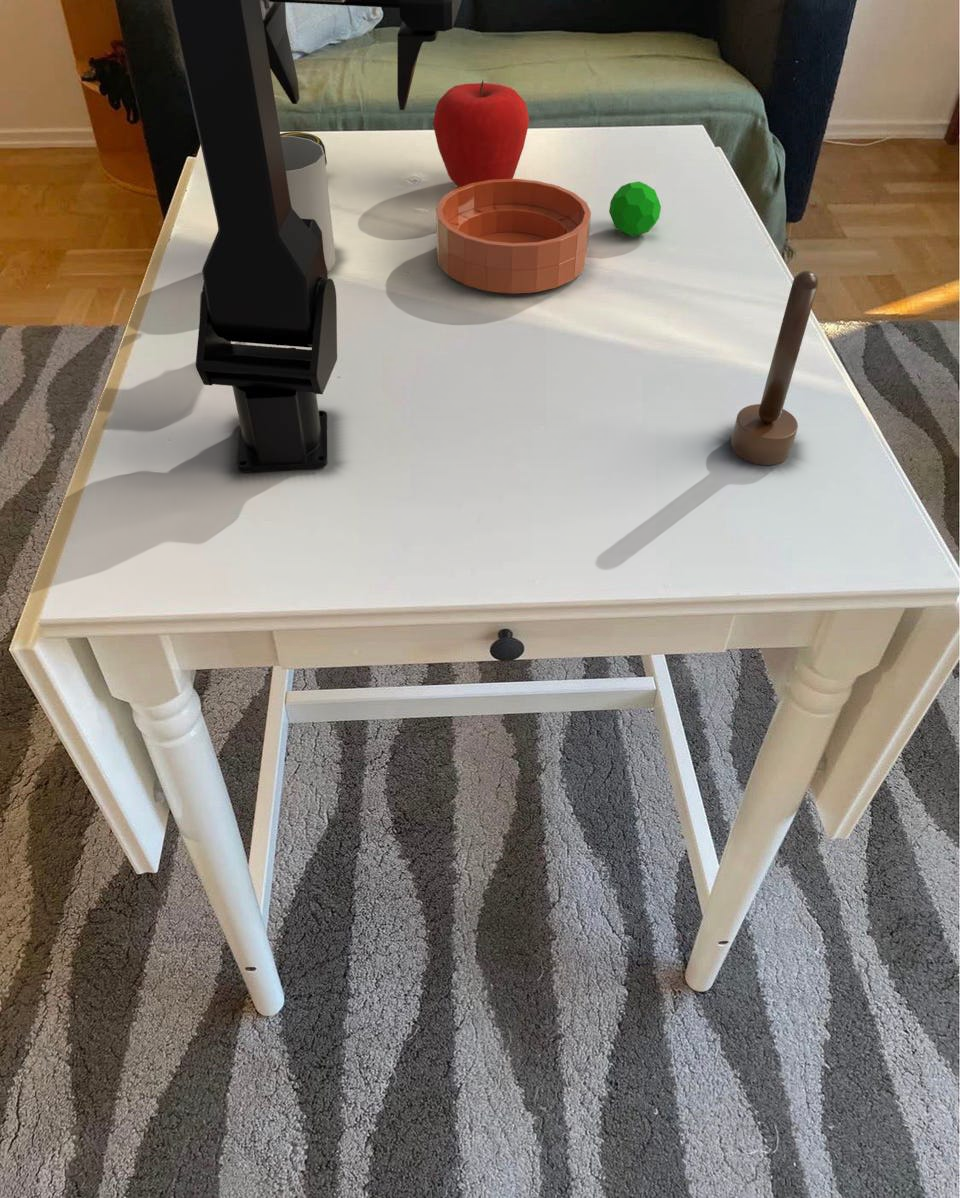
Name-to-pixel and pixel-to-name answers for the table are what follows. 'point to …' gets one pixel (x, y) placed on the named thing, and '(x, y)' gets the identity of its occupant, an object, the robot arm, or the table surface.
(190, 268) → the table surface
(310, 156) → the cup
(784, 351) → the brown joystick
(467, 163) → the apple
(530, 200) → the bowl
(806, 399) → the table surface
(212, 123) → the robot arm
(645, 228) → the polyhedron
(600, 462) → the table surface
